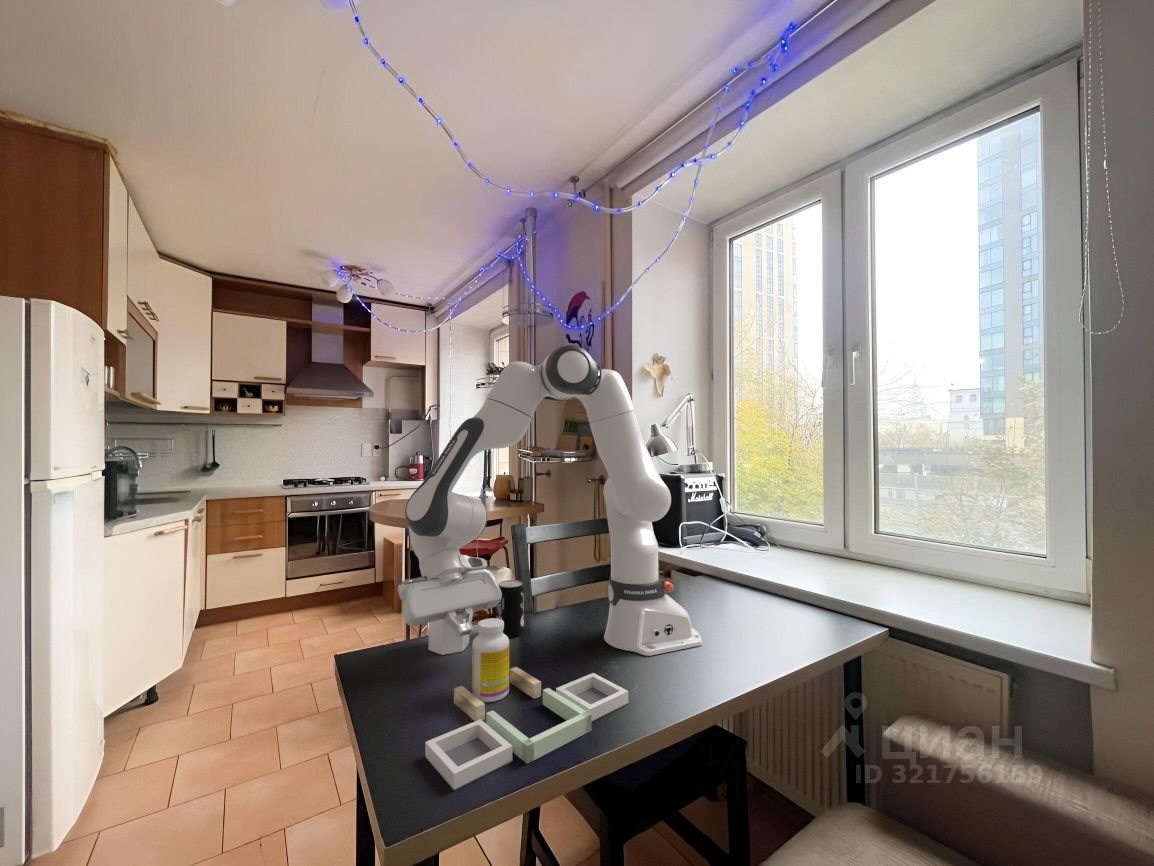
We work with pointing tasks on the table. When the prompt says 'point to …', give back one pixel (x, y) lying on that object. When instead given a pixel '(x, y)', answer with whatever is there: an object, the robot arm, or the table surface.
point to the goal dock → (551, 738)
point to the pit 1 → (468, 753)
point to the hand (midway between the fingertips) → (465, 633)
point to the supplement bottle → (490, 661)
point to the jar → (446, 637)
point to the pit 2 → (594, 695)
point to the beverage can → (511, 607)
